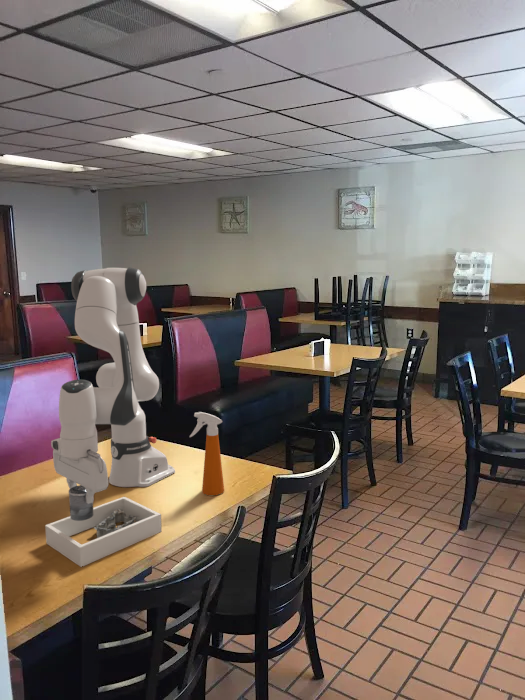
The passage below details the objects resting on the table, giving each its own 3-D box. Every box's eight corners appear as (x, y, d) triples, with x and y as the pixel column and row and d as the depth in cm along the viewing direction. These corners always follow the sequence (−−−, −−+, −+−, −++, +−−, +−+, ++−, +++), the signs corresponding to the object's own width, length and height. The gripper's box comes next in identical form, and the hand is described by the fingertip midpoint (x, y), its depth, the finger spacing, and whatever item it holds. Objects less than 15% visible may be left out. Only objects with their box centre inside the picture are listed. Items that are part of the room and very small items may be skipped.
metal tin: (86, 508, 147) (85, 483, 146) (98, 515, 143) (97, 489, 142) (65, 515, 143) (64, 489, 141) (77, 523, 139) (75, 496, 138)
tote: (124, 512, 163) (124, 496, 162) (161, 531, 152) (161, 514, 151) (46, 543, 145) (45, 525, 145) (81, 567, 134) (80, 547, 133)
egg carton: (119, 521, 159) (119, 507, 158) (140, 527, 155) (139, 513, 154) (91, 536, 150) (90, 521, 149) (111, 543, 146) (111, 528, 145)
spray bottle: (188, 490, 179) (186, 410, 175) (220, 485, 183) (220, 407, 178) (193, 499, 172) (191, 416, 168) (227, 494, 176) (226, 412, 172)
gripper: (113, 452, 135) (115, 506, 138) (70, 434, 149) (72, 484, 151) (90, 458, 131) (92, 514, 133) (47, 440, 144) (50, 491, 146)
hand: (81, 498), depth 142 cm, fingers closed on metal tin, 6 cm apart
